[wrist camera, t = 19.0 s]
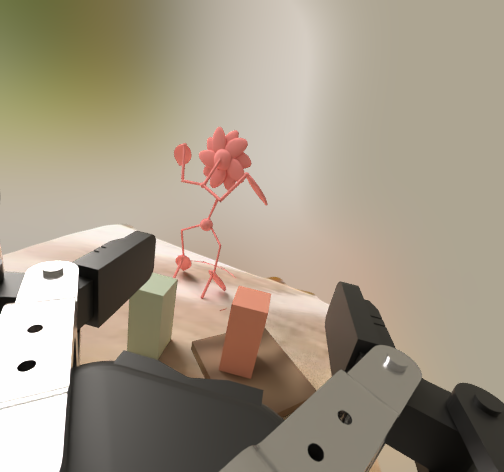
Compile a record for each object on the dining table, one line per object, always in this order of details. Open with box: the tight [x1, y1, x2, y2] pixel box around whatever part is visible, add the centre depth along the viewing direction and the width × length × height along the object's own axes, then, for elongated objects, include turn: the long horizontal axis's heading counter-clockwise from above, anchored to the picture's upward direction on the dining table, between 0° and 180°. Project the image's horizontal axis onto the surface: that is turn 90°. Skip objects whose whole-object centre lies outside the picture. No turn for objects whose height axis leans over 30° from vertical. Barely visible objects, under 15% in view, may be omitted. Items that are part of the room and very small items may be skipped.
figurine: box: [173, 127, 267, 311], centre depth 62 cm, size 15×26×35 cm, turn 57°
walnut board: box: [191, 328, 316, 418], centre depth 44 cm, size 16×14×2 cm
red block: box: [219, 286, 271, 379], centre depth 42 cm, size 5×5×12 cm
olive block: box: [127, 273, 178, 360], centre depth 44 cm, size 5×5×12 cm
